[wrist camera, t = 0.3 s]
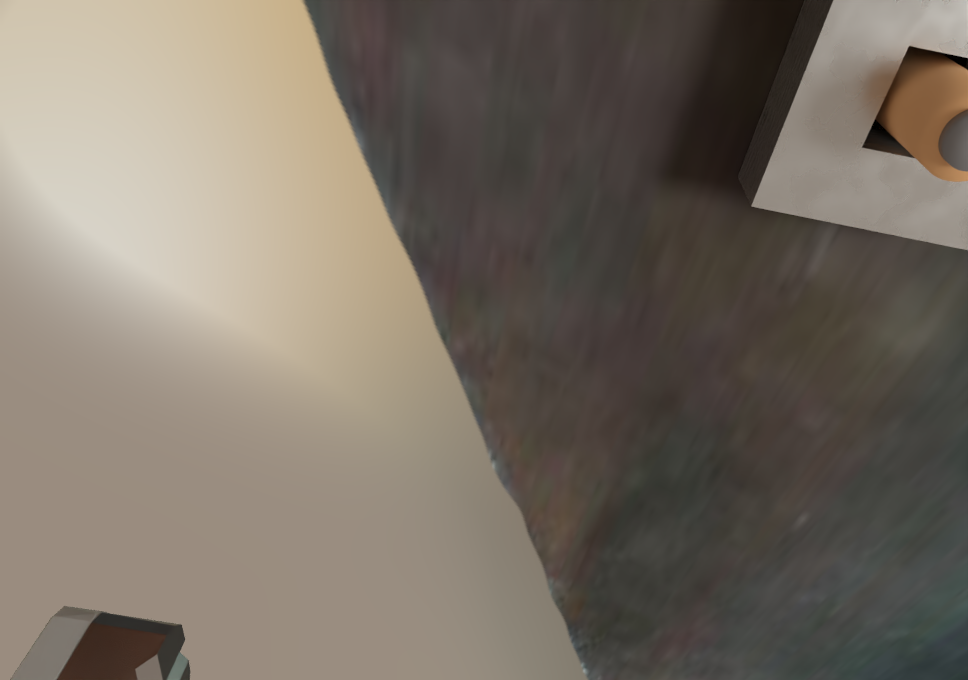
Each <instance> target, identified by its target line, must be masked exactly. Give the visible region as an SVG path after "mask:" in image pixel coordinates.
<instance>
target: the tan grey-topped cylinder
mask: <svg viewBox="0 0 968 680" xmlns="http://www.w3.org/2000/svg"><path fill="white" fill-rule="evenodd" d="M875 120H876V121H877V122H878V123H879V124H880V125H881V126H882V127H883V128H884V129H886V130H887V131H888V132H889V133H890V134H891V135H892V136H893V137H894V138H895V139H896V140H897V141H898V142H899V143H900V144H901V145H902V146H903V147H904V148H905V149H906V150H907V151H908V152H909V153H910V154H911V155H912V156H913V157H915V158H916V159H917V160H918V161H919V162H920V163H921V164H922V165H923V166H924V167H925V168H926V169H927V170H928V171H929V172H930V173H931V174H933V175H934V176H936V177H937V178H940V179H942V180H946V181H952V182H962V181H968V70H967V69H965V68H964V67H962V66H960V65H959V64H957V63H956V62H954V61H952V60H951V59H949V58H947V57H946V56H944V55H942V54H941V53H939V52H936V51H931V50H926V49H921V48H917V47H912V46H909V47H908V49H907V51H906V54H905V56H904V58H903V60H902V62H901V64H900V66H899V69H898V71H897V73H896V75H895V77H894V79H893V82H892V84H891V86H890V88H889V90H888V92H887V94H886V97H885V99H884V101H883V103H882V105H881V107H880V110H879V112H878V114H877V116H876V118H875Z"/></svg>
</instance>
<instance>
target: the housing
mask: <svg viewBox="0 0 968 680" xmlns="http://www.w3.org/2000/svg"><path fill="white" fill-rule="evenodd" d="M909 46H912V47H917V48H921V49H926V50H931V51H936V52H941V53H946V54H951V55H956V56H960V57H965V58H968V0H804V3H803V5H802V8H801V11H800V13H799V16H798V19H797V21H796V24H795V26H794V29H793V32H792V34H791V37H790V40H789V42H788V45H787V48H786V50H785V53H784V56H783V58H782V61H781V63H780V66H779V69H778V71H777V74H776V77H775V79H774V82H773V85H772V87H771V90H770V92H769V95H768V98H767V100H766V103H765V106H764V108H763V111H762V114H761V116H760V119H759V122H758V124H757V127H756V129H755V132H754V135H753V137H752V140H751V143H750V145H749V148H748V151H747V153H746V156H745V158H744V161H743V164H742V166H741V169H740V172H739V174H738V179H739V181H740V184H741V186H742V188H743V190H744V192H745V194H746V196H747V198H748V201H749V203H750V205H751V206H752V207H757V208H762V209H767V210H772V211H777V212H781V213H786V214H791V215H796V216H801V217H806V218H811V219H816V220H821V221H826V222H831V223H836V224H841V225H846V226H851V227H856V228H861V229H866V230H871V231H876V232H881V233H886V234H891V235H896V236H901V237H906V238H911V239H916V240H921V241H925V242H930V243H935V244H940V245H945V246H950V247H955V248H960V249H965V250H968V181H962V182H952V181H946V180H942V179H940V178H937V177H936V176H934V175H933V174H931V173H930V172H929V171H928V170H927V169H926V168H925V167H924V166H923V165H922V164H921V163H920V162H919V161H918V160H917V159H916V158H915V157H913V156H912V155H911V154H910V153H909V152H908V151H907V150H906V149H905V148H904V147H903V146H902V145H901V144H900V143H899V142H898V141H897V140H896V139H895V138H894V137H893V136H892V135H891V134H890V133H889V132H888V131H883V130H878V129H873V128H871V127H872V125H873V122H874V120H875V118H876V116H877V114H878V112H879V110H880V107H881V105H882V103H883V101H884V99H885V97H886V94H887V92H888V90H889V88H890V86H891V84H892V82H893V79H894V77H895V75H896V73H897V71H898V69H899V66H900V64H901V62H902V60H903V58H904V56H905V54H906V51H907V49H908V47H909ZM964 68H965V69H967V70H968V60H967V62H966V64H965V66H964Z"/></svg>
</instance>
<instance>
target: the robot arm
mask: <svg viewBox="0 0 968 680" xmlns="http://www.w3.org/2000/svg"><path fill="white" fill-rule="evenodd" d="M184 641H185V637H184V633H183V628H182V625H181V624H174V623H167V622H162V621H155V620H149V619H142V618H136V617H129V616H122V615H116V614H110V613H107V612H103V611H95V610H89V609H82V608H75V607H67V606H64V607H63V608H62V609H60V611H58V612H57V613H56V614H55V615H54V616H53V617H52V618H51V619H50V620H49V622H48V623H47V625H46V626H45V628H44V629H43V631H42V632H41V634H40V635H39V637H38V638H37V640H36V641H35V643H34V644H33V646H32V647H31V649H30V651H29V652H28V653H27V655H26V657H25V658H24V659H23V661H22V662H21V664H20V666H19V667H18V668H17V670H16V671H15V673H14V675H13V676H12V678H11V679H10V680H190V667H189V660H188V659H187V658H186V657H185V656H183V655H182V654H181V653H180V650H181V648H182V646H183V643H184Z"/></svg>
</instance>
